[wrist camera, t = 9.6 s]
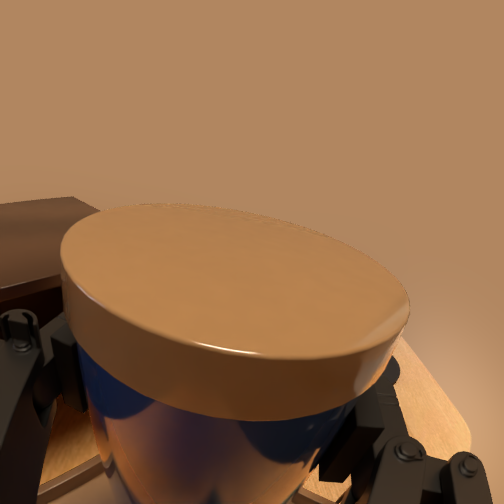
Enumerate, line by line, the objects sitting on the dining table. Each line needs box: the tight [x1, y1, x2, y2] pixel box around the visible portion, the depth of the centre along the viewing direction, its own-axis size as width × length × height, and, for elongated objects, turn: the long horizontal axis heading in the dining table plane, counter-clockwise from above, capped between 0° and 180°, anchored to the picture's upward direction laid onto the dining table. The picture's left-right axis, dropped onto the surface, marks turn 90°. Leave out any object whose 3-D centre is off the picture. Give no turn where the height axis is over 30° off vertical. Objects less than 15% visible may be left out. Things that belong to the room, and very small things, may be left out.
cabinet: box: [0, 197, 101, 340], centre depth 19 cm, size 16×17×15 cm
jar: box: [60, 204, 410, 504], centre depth 9 cm, size 8×8×11 cm
